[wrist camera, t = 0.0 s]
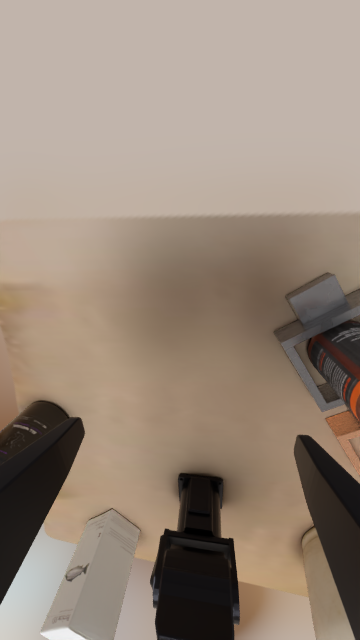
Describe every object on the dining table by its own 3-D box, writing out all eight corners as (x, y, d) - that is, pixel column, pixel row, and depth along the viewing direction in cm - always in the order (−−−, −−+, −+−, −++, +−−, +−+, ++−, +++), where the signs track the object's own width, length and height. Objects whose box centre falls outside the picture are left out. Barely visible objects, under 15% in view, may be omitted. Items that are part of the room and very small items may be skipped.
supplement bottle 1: (55, 395, 30) (-37, 491, 18) (79, 431, 32) (9, 537, 21) (18, 404, 31) (-88, 497, 20) (43, 438, 33) (-40, 539, 22)
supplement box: (112, 507, 38) (68, 628, 26) (141, 529, 39) (112, 654, 27) (87, 518, 40) (36, 634, 28) (115, 539, 42) (79, 658, 30)
